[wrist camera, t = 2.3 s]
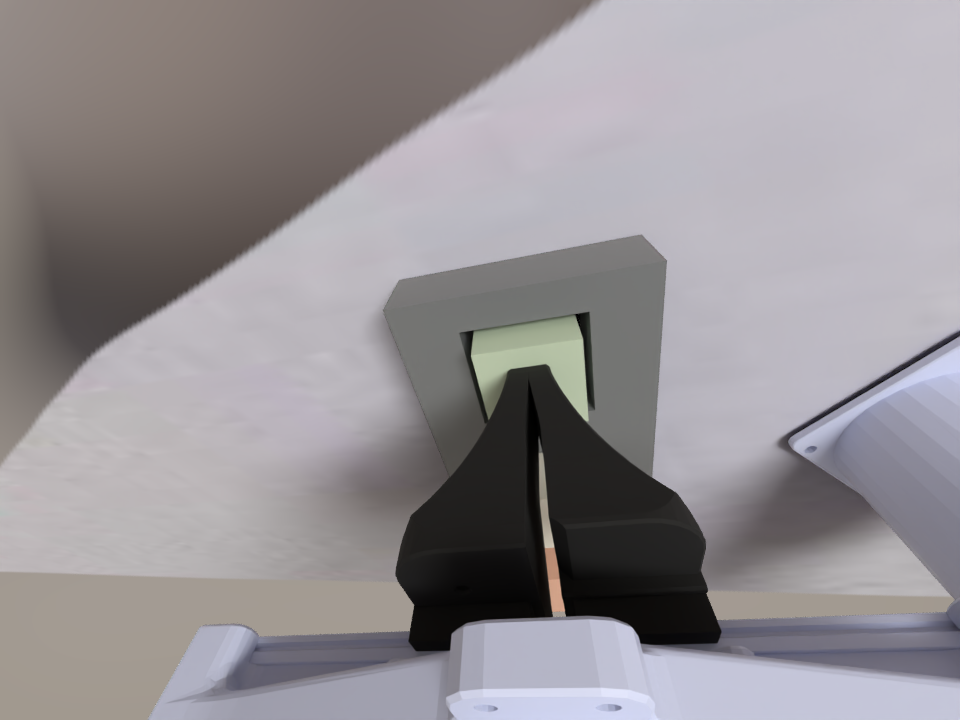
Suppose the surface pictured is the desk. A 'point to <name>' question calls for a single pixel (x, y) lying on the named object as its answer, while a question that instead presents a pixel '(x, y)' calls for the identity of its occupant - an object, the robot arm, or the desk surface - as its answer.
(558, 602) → the terracotta button
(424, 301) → the button panel
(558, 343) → the sage button
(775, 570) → the desk surface
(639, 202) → the desk surface
